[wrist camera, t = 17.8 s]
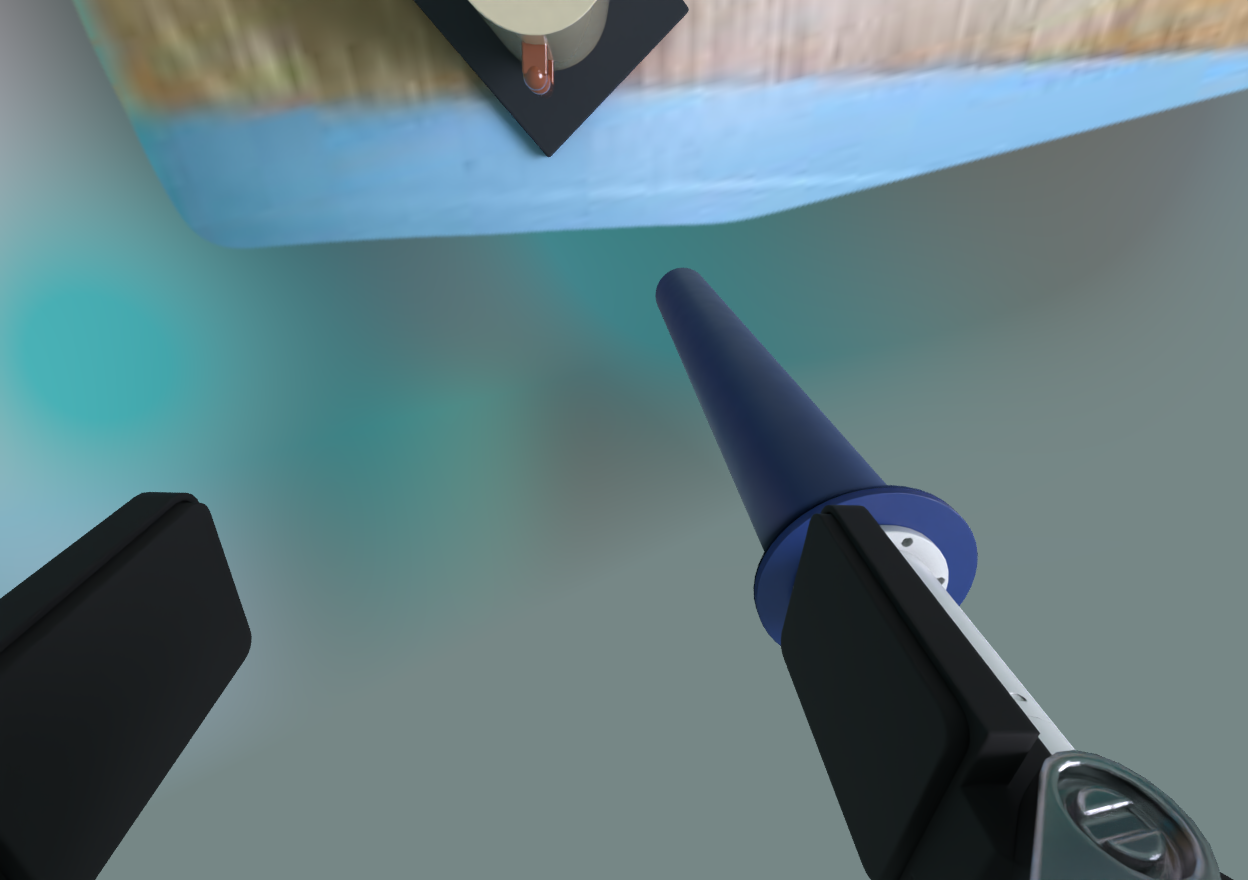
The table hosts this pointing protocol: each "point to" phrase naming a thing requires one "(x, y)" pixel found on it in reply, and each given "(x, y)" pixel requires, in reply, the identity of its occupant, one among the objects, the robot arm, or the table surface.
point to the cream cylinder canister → (545, 34)
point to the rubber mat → (633, 28)
